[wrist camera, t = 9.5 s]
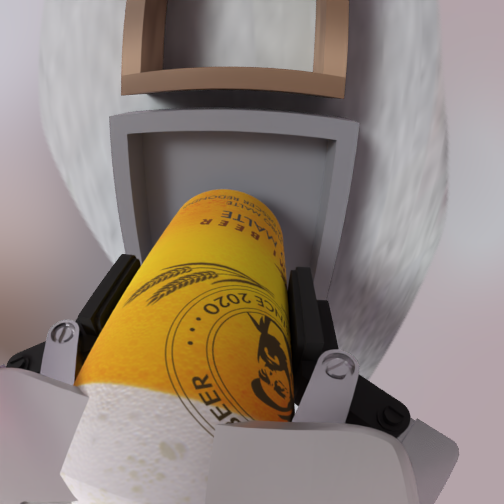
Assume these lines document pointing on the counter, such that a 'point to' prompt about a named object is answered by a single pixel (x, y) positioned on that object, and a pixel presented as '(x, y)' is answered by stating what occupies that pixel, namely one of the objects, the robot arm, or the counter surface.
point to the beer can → (186, 356)
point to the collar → (231, 78)
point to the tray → (237, 174)
